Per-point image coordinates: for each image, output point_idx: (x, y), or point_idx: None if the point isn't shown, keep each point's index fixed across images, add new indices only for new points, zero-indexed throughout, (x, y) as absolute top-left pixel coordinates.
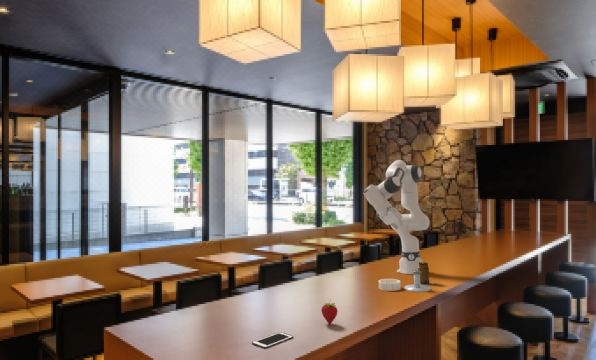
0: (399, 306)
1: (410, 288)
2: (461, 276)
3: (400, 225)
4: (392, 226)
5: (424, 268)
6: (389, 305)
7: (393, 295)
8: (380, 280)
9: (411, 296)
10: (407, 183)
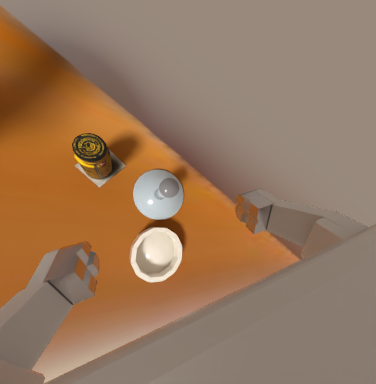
0: (256, 234)
1: (169, 208)
2: (11, 49)
3: (262, 226)
4: (35, 346)
5: (109, 154)
6: (255, 248)
7: (207, 242)
8: (150, 277)
9: (211, 213)
10: None
